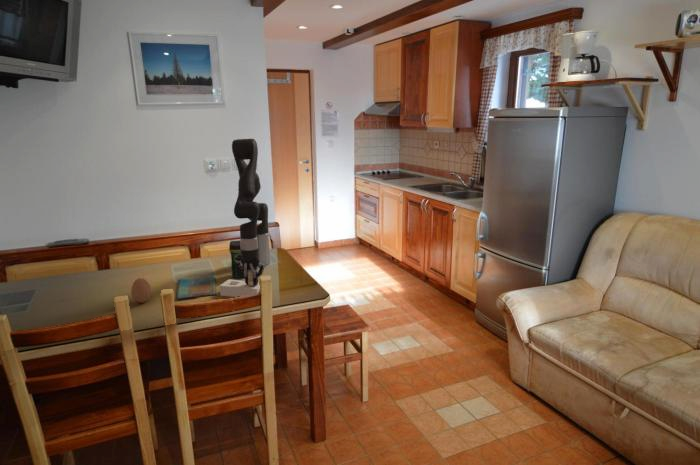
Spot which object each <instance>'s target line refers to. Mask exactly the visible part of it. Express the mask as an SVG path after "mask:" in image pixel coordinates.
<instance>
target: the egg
mask: <svg viewBox="0 0 700 465" xmlns="http://www.w3.org/2000/svg"><path fill="white" fill-rule="evenodd" d="M131 296H132V298H133V299H134V301H136V302H138V303H140V304H141V303H146V302H147V301H149V300H150V298H151V296H152V288H151V285H150V284H149V282H148V281H147V280H146V279H144V277H143V278H141V277H138V278H137V279H135V280H134V281H133V283H132V286H131Z"/></svg>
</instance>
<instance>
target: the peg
mask: <svg viewBox="0 0 700 465" xmlns="http://www.w3.org/2000/svg"><path fill="white" fill-rule="evenodd" d="M247 273H248V287H255V286H254V283H253V278H254V277H253V273H252V271H251V270H247Z"/></svg>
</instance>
